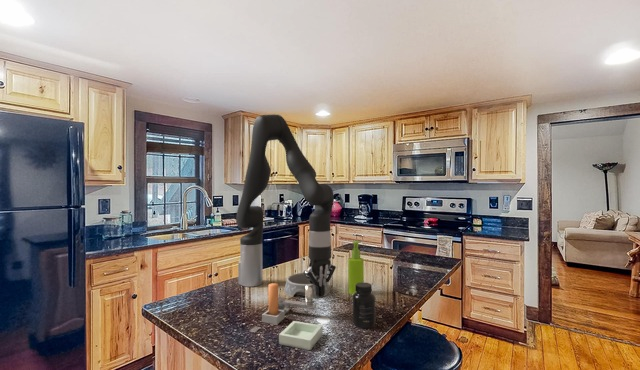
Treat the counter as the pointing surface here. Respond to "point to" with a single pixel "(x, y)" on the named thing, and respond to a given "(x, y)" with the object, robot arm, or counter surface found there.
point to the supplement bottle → (363, 306)
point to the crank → (307, 304)
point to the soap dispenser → (355, 268)
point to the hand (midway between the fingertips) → (320, 296)
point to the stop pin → (273, 299)
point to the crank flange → (268, 309)
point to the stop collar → (273, 317)
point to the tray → (301, 335)
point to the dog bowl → (300, 285)
